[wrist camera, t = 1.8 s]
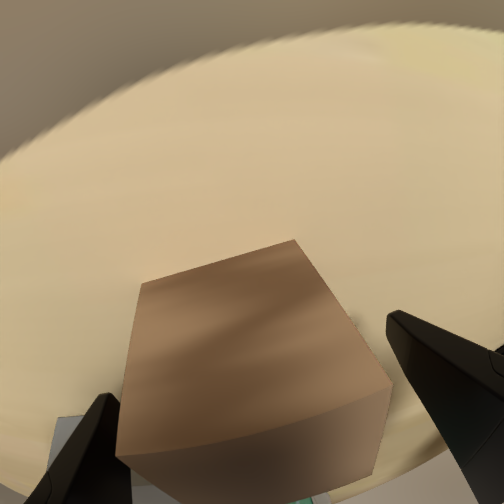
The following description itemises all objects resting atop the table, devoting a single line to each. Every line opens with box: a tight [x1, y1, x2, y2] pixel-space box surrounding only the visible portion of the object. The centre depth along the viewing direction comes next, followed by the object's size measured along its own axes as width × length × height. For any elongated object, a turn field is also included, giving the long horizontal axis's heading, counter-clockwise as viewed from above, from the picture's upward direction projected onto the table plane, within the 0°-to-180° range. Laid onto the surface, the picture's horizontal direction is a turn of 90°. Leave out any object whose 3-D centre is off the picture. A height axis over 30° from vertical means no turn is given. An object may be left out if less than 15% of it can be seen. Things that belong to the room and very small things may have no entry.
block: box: [115, 239, 393, 504], centre depth 8 cm, size 5×5×6 cm
